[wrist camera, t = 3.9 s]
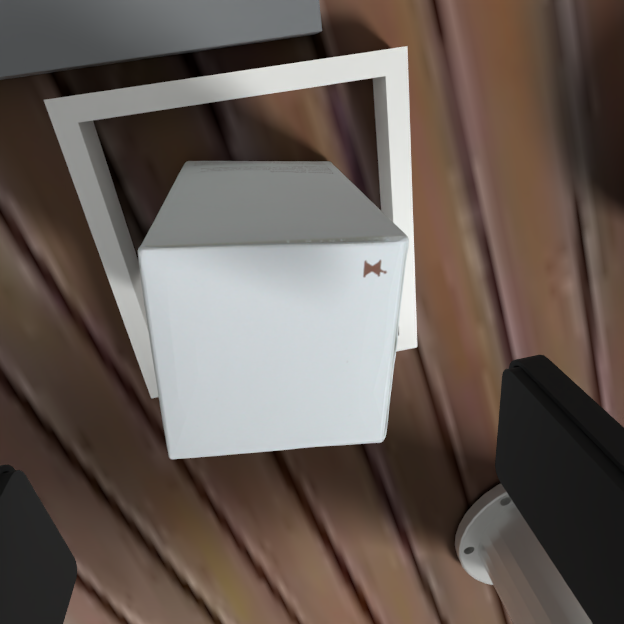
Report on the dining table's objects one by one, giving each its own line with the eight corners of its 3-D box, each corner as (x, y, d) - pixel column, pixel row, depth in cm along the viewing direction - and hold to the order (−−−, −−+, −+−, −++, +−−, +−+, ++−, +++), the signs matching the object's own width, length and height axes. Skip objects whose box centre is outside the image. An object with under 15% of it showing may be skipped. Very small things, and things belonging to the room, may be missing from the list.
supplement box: (181, 157, 23) (129, 237, 11) (333, 159, 24) (421, 234, 13) (193, 297, 26) (162, 465, 15) (326, 293, 27) (391, 448, 16)
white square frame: (391, 48, 22) (407, 46, 20) (404, 328, 29) (417, 347, 27) (61, 97, 21) (43, 99, 19) (157, 375, 28) (151, 398, 26)
